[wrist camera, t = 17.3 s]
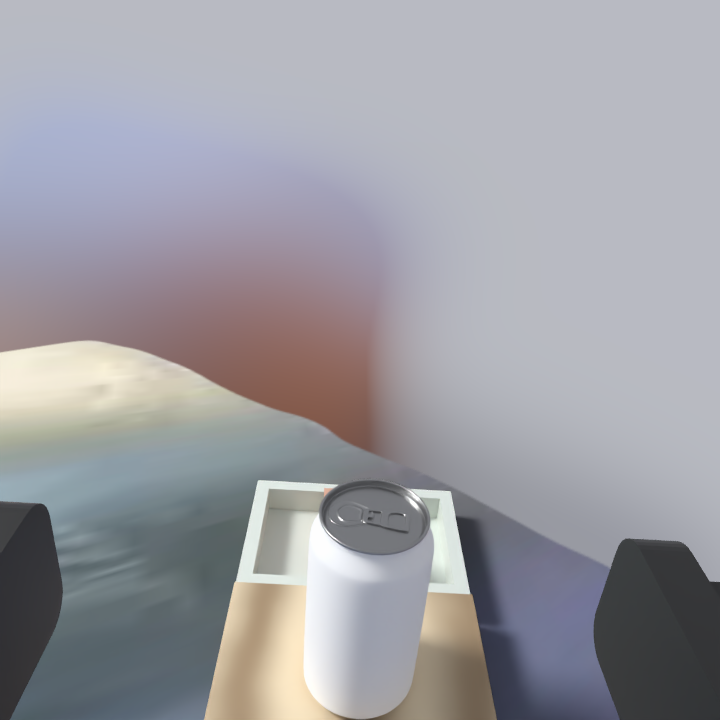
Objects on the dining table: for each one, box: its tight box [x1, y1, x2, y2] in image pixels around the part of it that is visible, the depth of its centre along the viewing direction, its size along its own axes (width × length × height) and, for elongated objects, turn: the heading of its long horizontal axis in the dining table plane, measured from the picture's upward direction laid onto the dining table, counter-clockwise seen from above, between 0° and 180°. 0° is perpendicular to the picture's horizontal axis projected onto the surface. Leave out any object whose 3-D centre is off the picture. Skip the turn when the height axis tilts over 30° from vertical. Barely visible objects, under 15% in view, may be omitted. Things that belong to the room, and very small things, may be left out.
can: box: [303, 478, 434, 719], centre depth 36 cm, size 6×6×12 cm
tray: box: [236, 480, 470, 594], centre depth 50 cm, size 16×11×2 cm
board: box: [204, 582, 497, 720], centre depth 40 cm, size 16×12×3 cm
